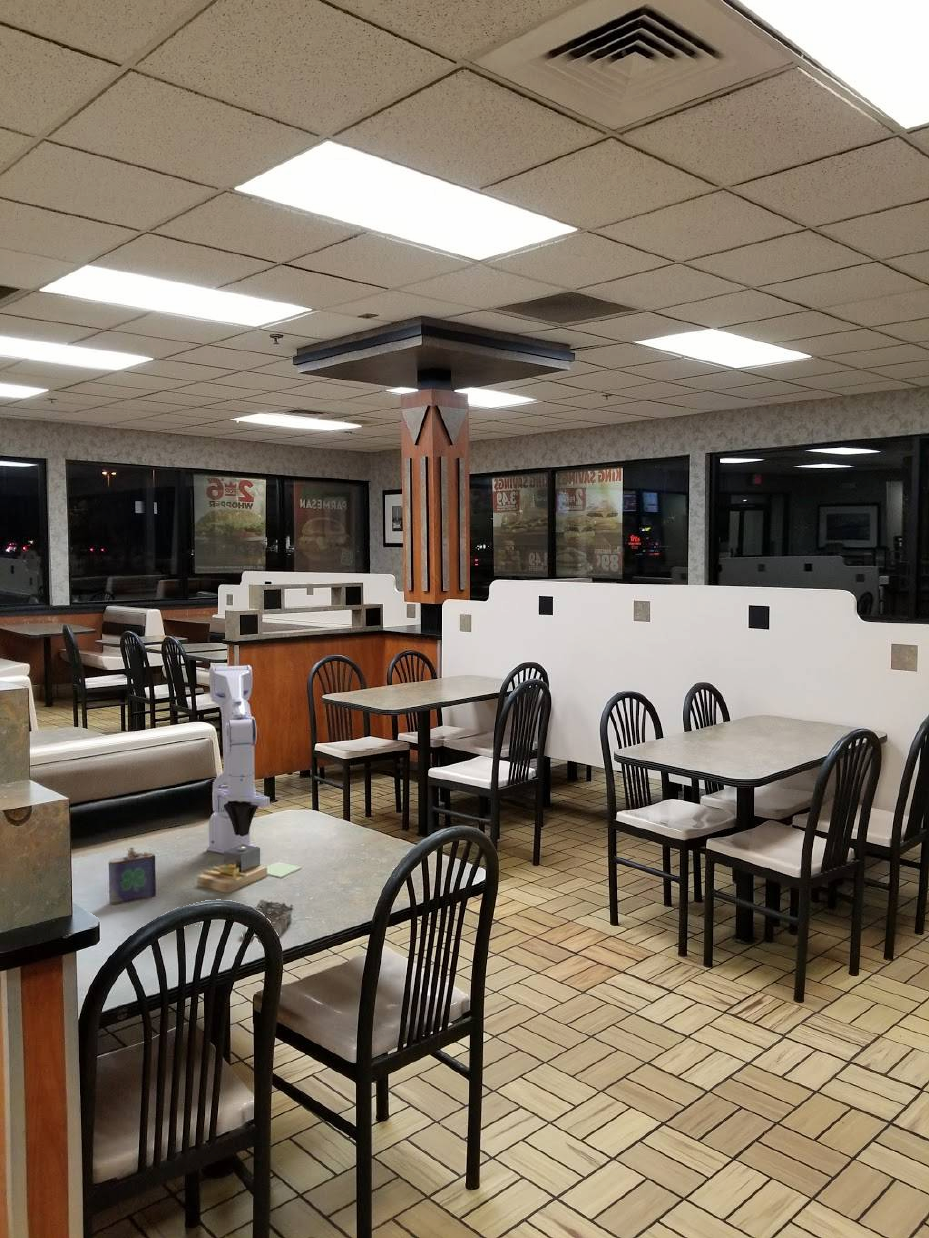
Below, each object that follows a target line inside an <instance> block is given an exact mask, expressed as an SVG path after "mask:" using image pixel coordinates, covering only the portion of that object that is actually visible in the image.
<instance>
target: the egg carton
mask: <svg viewBox="0 0 929 1238" xmlns="http://www.w3.org/2000/svg"><path fill="white" fill-rule="evenodd" d="M254 908H255V909H256V910H258V911H260V912H262V913H263V914H264V915H265V916H266V917H267V918H268V919H269V920H270V921H271V924H272V925H273V927H274V929H275V930H276V932H277V933H278V935H279V937H281V935H282V932H283V930H286V929H287V924H288V923H291V922H292V921H293V919H292V913H293V911H294V905H293V904H290V906H289V905H286V903H285V902H283V903H280V902H276V901H272V900H271V902H270V901H267V900H264V899H260V900H259V902H258V903H257V905H256V906H254ZM266 917H265V918H266ZM257 937H258V936H253V939H255V938H257Z"/></svg>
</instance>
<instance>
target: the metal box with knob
mask: <svg viewBox="0 0 929 1238" xmlns="http://www.w3.org/2000/svg"><path fill="white" fill-rule="evenodd" d="M231 863H235V864H236V867H238V868H239V872H240V873H244V872H246V871H248V870H251V869H253V868H255V867H258V866H260V865H261V847H259V846H258V847H254V846H250V845H245V844H242V845H239V846H237V847H234V848H232V849H229V850H227V851H224V854H223V865H229V864H231Z"/></svg>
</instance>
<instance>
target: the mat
mask: <svg viewBox="0 0 929 1238" xmlns="http://www.w3.org/2000/svg"><path fill="white" fill-rule="evenodd" d="M266 867H267V876H270V877H274V878H279V879H283V878H285V877H287V876H288V875H291V874H293V873H295V872H297V871H299V870H302V868H303V867H302V866H298V865H293V864H288V863H285V862H280V861H277V862H274V863H272V864H269V865H267V866H266Z"/></svg>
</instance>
